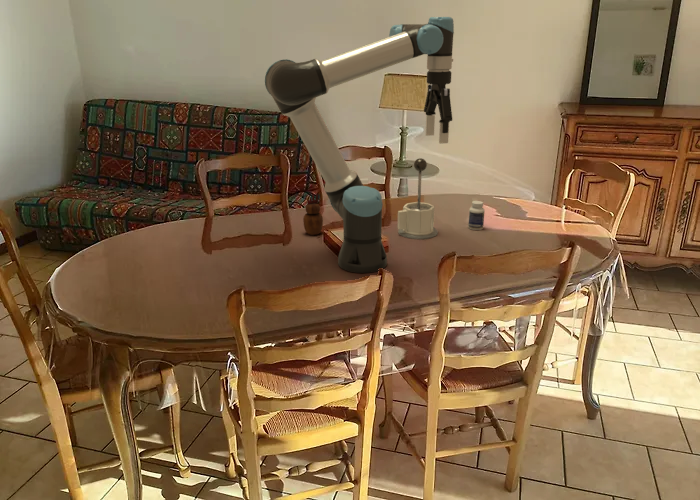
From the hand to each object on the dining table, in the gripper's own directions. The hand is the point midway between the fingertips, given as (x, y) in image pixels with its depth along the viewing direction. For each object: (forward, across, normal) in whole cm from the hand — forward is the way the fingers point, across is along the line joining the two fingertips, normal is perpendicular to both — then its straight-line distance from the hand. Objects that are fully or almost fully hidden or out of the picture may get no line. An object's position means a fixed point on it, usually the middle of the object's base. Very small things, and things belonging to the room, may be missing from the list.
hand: (436, 139), depth 190 cm
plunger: (+27, +9, +2) cm, 28 cm away
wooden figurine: (+35, +16, +39) cm, 55 cm away
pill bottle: (+35, +9, -20) cm, 41 cm away
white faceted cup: (+35, +9, +2) cm, 36 cm away
